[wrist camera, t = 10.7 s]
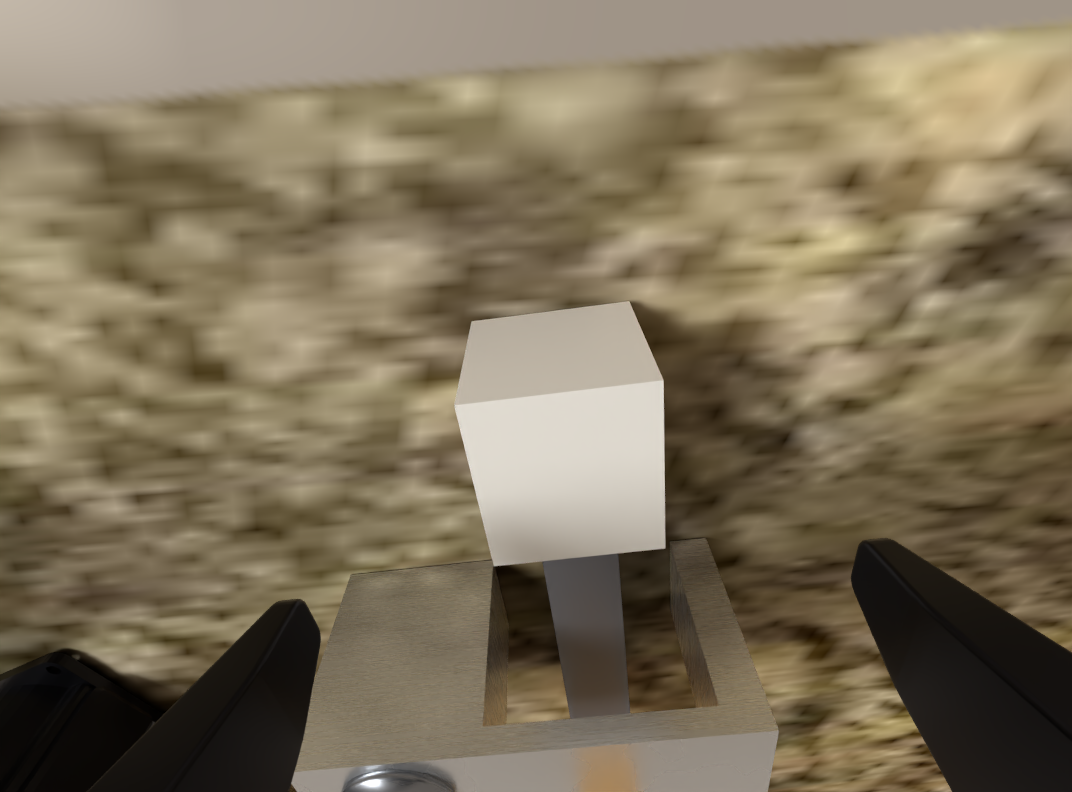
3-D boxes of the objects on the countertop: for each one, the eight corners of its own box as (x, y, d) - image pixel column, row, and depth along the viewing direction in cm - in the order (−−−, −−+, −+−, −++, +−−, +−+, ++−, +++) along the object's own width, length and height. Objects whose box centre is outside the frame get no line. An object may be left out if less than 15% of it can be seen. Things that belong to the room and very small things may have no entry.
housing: (703, 605, 20) (769, 809, 15) (378, 637, 21) (326, 844, 15) (705, 537, 18) (782, 741, 13) (350, 575, 19) (279, 784, 14)
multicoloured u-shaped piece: (646, 695, 23) (711, 1034, 15) (551, 704, 23) (564, 1043, 15) (629, 301, 14) (771, 628, 6) (471, 321, 14) (399, 664, 6)
